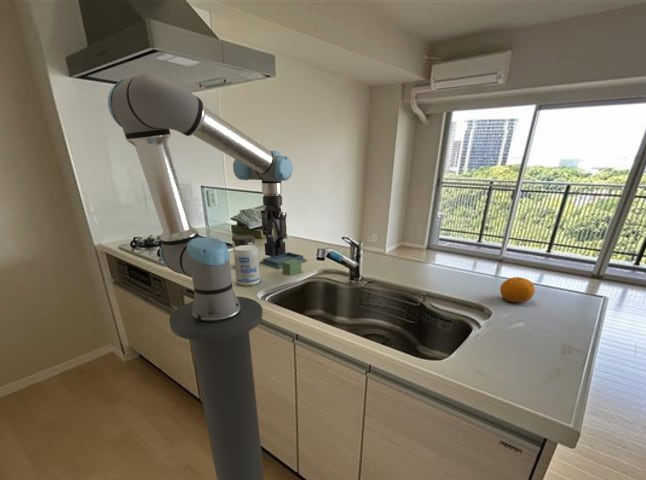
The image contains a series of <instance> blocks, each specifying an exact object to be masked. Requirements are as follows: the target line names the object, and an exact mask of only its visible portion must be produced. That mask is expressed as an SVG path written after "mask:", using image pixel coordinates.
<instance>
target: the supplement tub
mask: <svg viewBox="0 0 646 480" xmlns="http://www.w3.org/2000/svg"><path fill="white" fill-rule="evenodd" d="M258 251H259V249H258V247H257V246H256V245H255V246H253V245H242V246H237V247H235V248H234V251H233V259H235V260H234V270H235V279H236V284H238V285H240V286H245V287H246V286H248V287H249V286H254V285H257V284H259V282H260V280H261V278H260V276H261V275H260V263H259V252H258Z"/></svg>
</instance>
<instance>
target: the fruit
mask: <svg viewBox="0 0 646 480" xmlns="http://www.w3.org/2000/svg"><path fill="white" fill-rule="evenodd" d="M499 291H500V295H501V296H502V298H503V299H504V300H506V301H507V302H511V303H524V302H528V301H529V300H531V299H532V298H533V297H534V296H535V291H536V288H535V285H534V283H533V282H532V281H531V280H530V279H527V278H524V277H519V276H513V277H509V278H508V279H505V281H503V282H502V284H501V285H500V288H499Z"/></svg>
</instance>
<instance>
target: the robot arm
mask: <svg viewBox="0 0 646 480" xmlns="http://www.w3.org/2000/svg"><path fill="white" fill-rule="evenodd" d="M107 105H108V110H109V114H110V116H111V117H112V119H113V120H114V122H115V123H116V124H117V125H118V126H119V127H121V128H122V131H123V134H124V137H125V139H126V142H128V143H129V144H131V145H132V146H133V147H134V148H135V150H136V153H137V154H136V155H137V157H138V159H139V163H140V165H141V169H142V172H143V174H144V175H143V176H144V178H145V180H146V184H147V187H148V190H149V193H150V196H151V199H152V202H153V205H154V208H155V211H156V214H157V218H158V220H159V223H160V226H161V230H162V233H161V234H160V237H159V240H160V243H161V246H160V248H159V256H160V259H161V261H162V263H163V265H165V267H167V268H168V269H170V270H171V271H172V272H174V273H176V274H179V275H183V276H186V277H189V278H191V279H192V285H193V291H194V296H193V301H192V302H193V306H192V315H193V318H194V319H195V322H196V323H197V322H198V321H200V322H206V323H214V322H222V321H226V320H229V319H232V318H234V317H236V316H237V315H238V314H239V313H240V312H241V307H240V303H239V301H238V299H237V297H236V296H237V294H236V293H235V291H234V288H233V280H232V273H231V272H232V271H231V263H230V253H229V249H228V245H227V243H226V242H225V241H223V240H222V239H219V238H215V237H206V236H205V237H200V235H199V231H198V230H197V228H195V227H193V226H192V225H191V221H190V218H189V214H188V211H187V207H186V204H185V200H184V196H183V192H182V190H181V185H180V182H179V179H178V175H177V172H176V169H175V164H174V161H173V158H172V154H171V151H170V147H169V143H168V142H169V140H170V138H171V135H172V134H171V131H170V130H172V131H175V132H178V133H180V134H182V135H184V136H186V137H191V136H194V137H196V138H197V139H199V140H201V141H203V142H204V143H206V144H208V145H210V146H212V147H213V148H215V149H216V150H218V151H220V152H222V153H224V154H225V155H227V156H228V157H230V158H232V159H234V160H233V163H232V169H233V170H232V171H233V174H234V176H235V177H236V178H237V180H240V181H252V180H253V181H261V194H262V195H263V196H262V206H264V209H262V210H260V217H261V230H262V231H261V232H262V236H265V238H266V243H268V242H272V241H274V237H273V236H274V234H273V227H274V230H275V235H276V238H275V241H276V252H277V256H279V255H283V248H282V247H283V242H284V239H287V236H288V235H287V212H283V211H282V207H281V206H283V195H282V193H283V191H282V187H283V186H282V182H283V181H288V180H290V179H291V177H292V175H293V170H294V166H293V162H292V160H291V159H290V157H288V156H285V155H281V154H280V152H279V151H278V150H269V149H268V148H266V147H265V146H263V145H262V144H260V143H258V142H257V141H256V140H254V139H253V138H251V137H250V136H249V135H247V134H245V133H244V132H242V130H240V129H238V128H236V127H235V126H234V125H232V124H231V123H229V122H228V121H227V120H225V119H223V118H221V116H219V115H217V114H216V113H214V112H213V111H212V110H210V109H208V108H207V107H205V106H204V102H203V100H202V99H201V98H200V97H198V96H196V95H195V94H194V93H193V92H191V91H189V90H188V89H186V88H185V87H183V86H181V85H180V84H178V83H177V82H175V81H173V80H171V79H169V78H167V77H166V76H163V75H161V74H157V73H152V72H143V73H139V74H137V75H135V76H131V77H128V78H127V77H126V78H123V79H121V80H119V81H118V82H117V83H116V84H114V85H113V86H112V87H111V88H110V90H109V92H108V97H107Z"/></svg>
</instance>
